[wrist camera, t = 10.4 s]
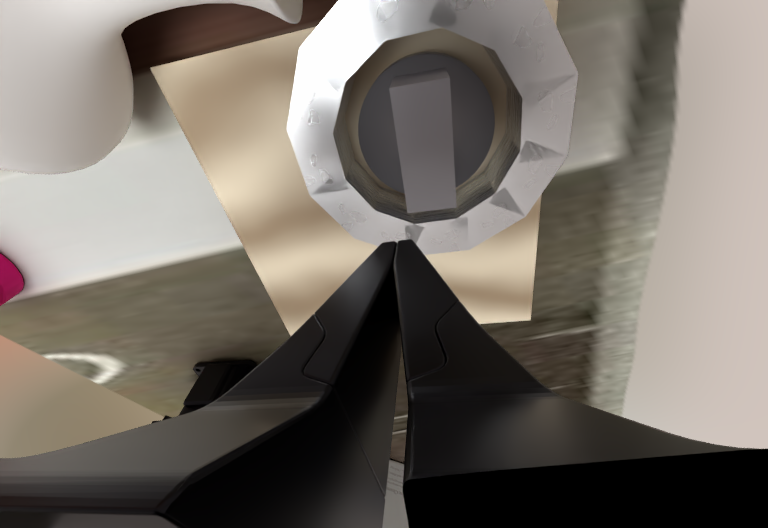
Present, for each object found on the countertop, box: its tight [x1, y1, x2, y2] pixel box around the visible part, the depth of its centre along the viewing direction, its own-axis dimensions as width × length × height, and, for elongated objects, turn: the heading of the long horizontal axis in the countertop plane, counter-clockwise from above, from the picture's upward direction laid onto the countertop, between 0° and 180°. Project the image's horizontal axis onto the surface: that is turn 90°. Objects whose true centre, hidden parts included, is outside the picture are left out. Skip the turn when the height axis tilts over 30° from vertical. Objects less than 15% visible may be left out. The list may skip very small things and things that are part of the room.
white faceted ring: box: [287, 0, 578, 255], centre depth 16 cm, size 12×12×3 cm
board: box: [150, 0, 558, 336], centre depth 21 cm, size 20×19×1 cm
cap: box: [358, 51, 495, 213], centre depth 15 cm, size 6×6×4 cm
